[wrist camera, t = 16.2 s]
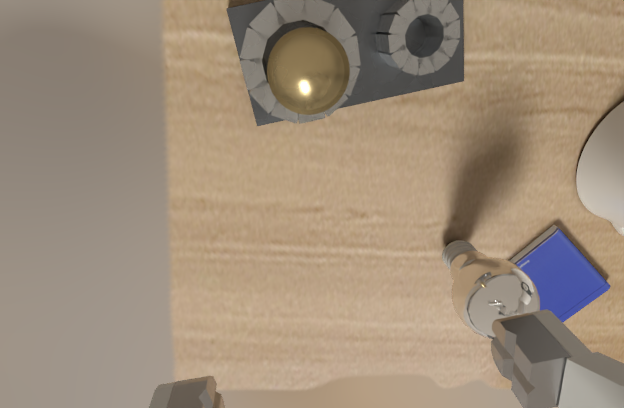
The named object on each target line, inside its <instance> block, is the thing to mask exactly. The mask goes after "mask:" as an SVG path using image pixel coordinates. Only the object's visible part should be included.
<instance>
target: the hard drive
mask: <svg viewBox="0 0 624 408" xmlns="http://www.w3.org/2000/svg"><path fill="white" fill-rule="evenodd" d="M509 262H512V263H514V264H516V265H517V266H519V267H520V268H522V269H523V270H524V271H525V272H526V273H527V274H528V275H529V276H530V277H531V278H532V280H533V281H534V283H535V285H536V287H537V289H538V292H539V297H540V311H541V310H546V309H547V310H549V311H551V312H552V313H553V314H554V315H555V316H556V317H557V318H558V319H559V320H560V321H561V322H564V321H565V320H567V319H568V318H569V317H571V316H572V315H574V314H575V313H576V312H578V311H579V310H581V309H582V308H583V307H585V306H586V305H588V304H589V303H590V302H592V301H593V300H595V299H596V298H597V297H599V296H600V295H602V294H603V293H604V292H606V291H607V290H608V289H609V288H610V285H609V284H608V283H607V282H606V280H605V279H604V278H603V277H602V276H601V275H600V274H599V273H598V271H597V270H596V269H595V268H594V267H593V266H592V265H591V264H590V262H589V261H588V260H587V259H586V258H585V257H584V256H583V254H582V253H581V252H580V251H579V250H578V249H577V248H576V247H575V246H574V245H573V243H572V242H571V241H570V240H569V239H568V238H567V237H566V236H565V234H564V233H563V232H562V231H561V230H560V229H559V228H558V227H557V226H555V225H553V226H552V227H550V228H549V229H548V230H547V231H545V232H544V233H543V234H542V235H540V236H539V237H538V238H537V239H535V240H534V241H533V242H532V243H531V244H529V245H528V246H527V247H526V248H524V249H523V250H522V251H521V252H519V253H518V254H517V255H516V256H514V257H513V258H512V259H511V260H510V261H509Z"/></svg>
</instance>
